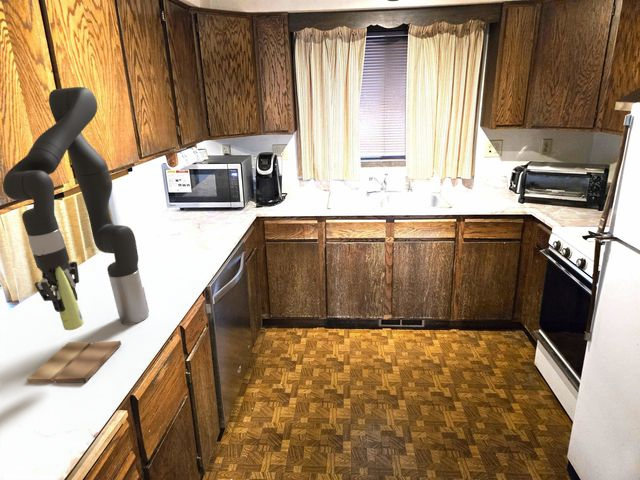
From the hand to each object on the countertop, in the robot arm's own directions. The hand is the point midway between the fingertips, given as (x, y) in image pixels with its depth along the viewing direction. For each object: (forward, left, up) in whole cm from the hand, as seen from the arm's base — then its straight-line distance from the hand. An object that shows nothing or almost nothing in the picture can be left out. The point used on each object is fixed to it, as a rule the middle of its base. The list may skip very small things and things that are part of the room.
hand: (67, 305), depth 120 cm
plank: (-2, 0, -19) cm, 20 cm away
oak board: (-2, -9, -20) cm, 22 cm away
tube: (0, 0, -7) cm, 7 cm away
